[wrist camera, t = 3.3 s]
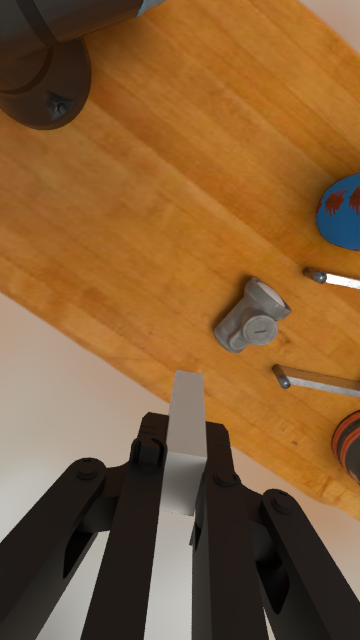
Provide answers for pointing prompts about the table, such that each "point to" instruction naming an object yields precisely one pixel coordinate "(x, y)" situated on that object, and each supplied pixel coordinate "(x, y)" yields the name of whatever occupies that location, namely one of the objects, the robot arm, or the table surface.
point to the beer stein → (349, 445)
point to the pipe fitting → (252, 318)
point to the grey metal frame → (313, 379)
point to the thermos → (341, 213)
